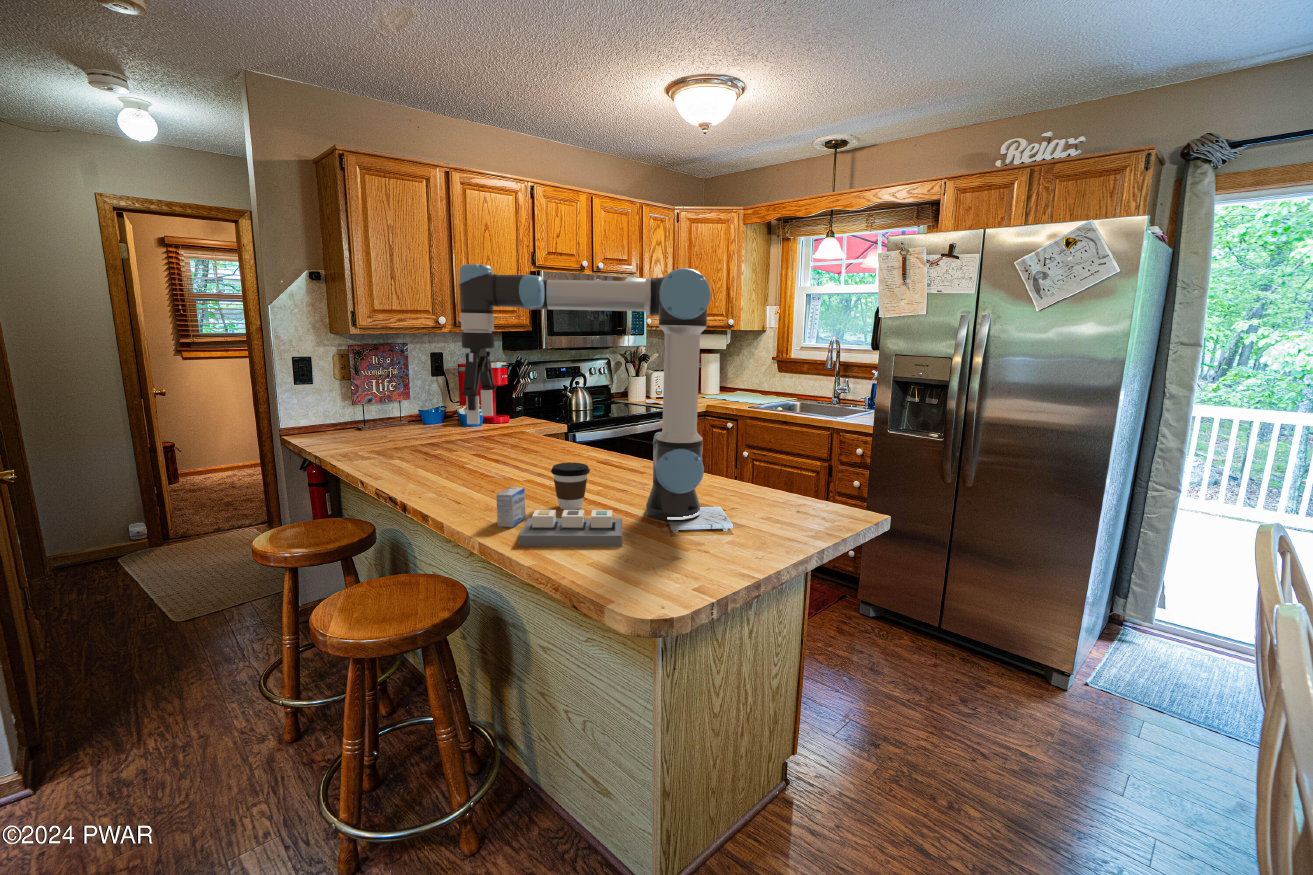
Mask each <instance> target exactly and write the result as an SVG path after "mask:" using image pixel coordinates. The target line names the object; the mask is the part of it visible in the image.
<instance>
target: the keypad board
mask: <svg viewBox="0 0 1313 875" xmlns="http://www.w3.org/2000/svg"><path fill="white" fill-rule="evenodd" d="M518 546H519V547H622V546H623V518H621V517H620V518H619V517H617V518H616V517H615V518H613V517H612V528H591V517H584V524H583V528H577V527H562V517H556V522H555V525H554V527H532V517H528V518H527V519H526V521H525V523H524V524H523V527H522V529H521V531H520V533H519V535H518Z"/></svg>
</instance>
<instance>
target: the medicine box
mask: <svg viewBox="0 0 1313 875" xmlns="http://www.w3.org/2000/svg"><path fill="white" fill-rule="evenodd" d="M525 490H526V489H525V487H517V486H511V487H508V488H507V489H505V490H503V491H501V492H499V493H498V494H496V516H497V518H496V519H497V527H501V528H502V527H503V528H511V529H512V528H515V527H516V526H518V525H519V524H521V522H523V521H524V520H525V519H526V492H525Z"/></svg>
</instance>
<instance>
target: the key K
mask: <svg viewBox="0 0 1313 875" xmlns="http://www.w3.org/2000/svg"><path fill="white" fill-rule="evenodd" d="M561 518H562V527H577V528H583V524H584V518H585V510H584V509H577V510H563V511H562V514H561Z"/></svg>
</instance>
